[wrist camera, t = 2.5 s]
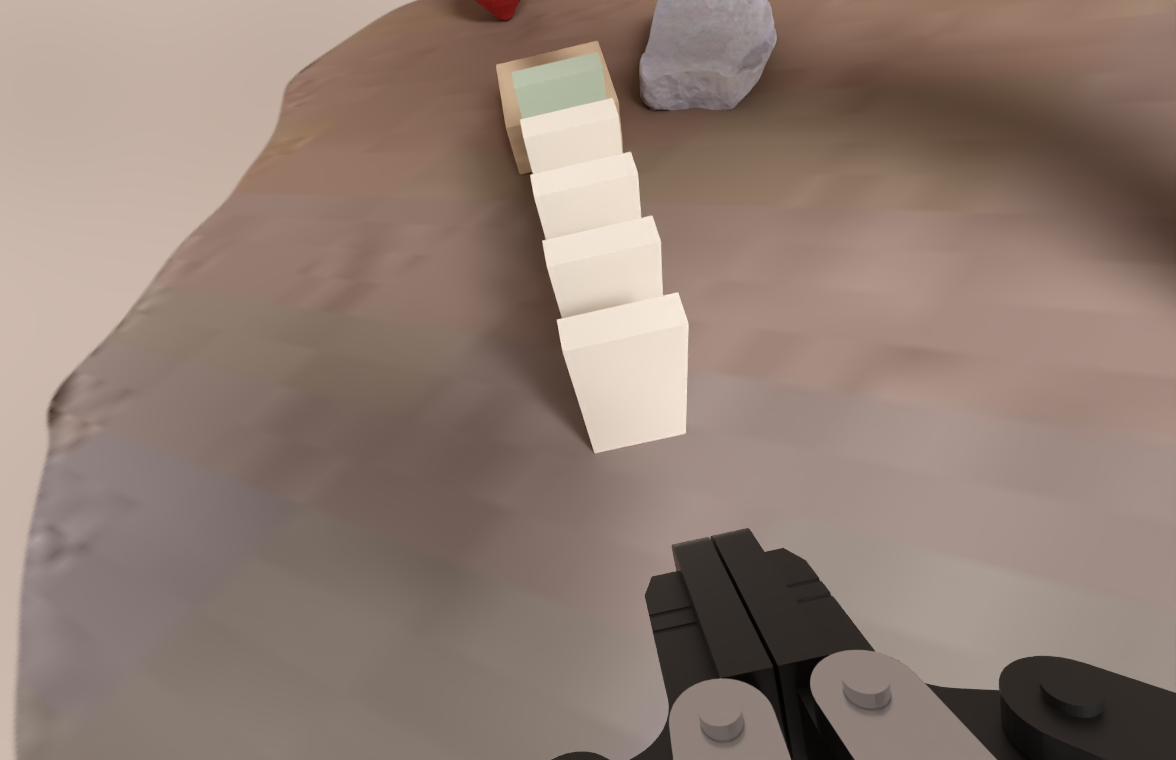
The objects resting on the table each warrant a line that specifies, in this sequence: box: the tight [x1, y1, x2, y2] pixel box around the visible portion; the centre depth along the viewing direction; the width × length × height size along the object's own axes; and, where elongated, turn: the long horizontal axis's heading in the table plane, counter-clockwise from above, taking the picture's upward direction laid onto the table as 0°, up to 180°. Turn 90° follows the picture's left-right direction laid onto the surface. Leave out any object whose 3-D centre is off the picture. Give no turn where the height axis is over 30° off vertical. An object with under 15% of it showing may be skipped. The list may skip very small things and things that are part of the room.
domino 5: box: [557, 293, 688, 453], centre depth 27 cm, size 2×5×10 cm, turn 100°
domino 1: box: [512, 52, 606, 119], centre depth 36 cm, size 2×5×10 cm, turn 100°
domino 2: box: [520, 98, 622, 174], centre depth 34 cm, size 2×5×10 cm, turn 100°
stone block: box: [639, 0, 777, 111], centre depth 46 cm, size 12×5×10 cm
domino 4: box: [542, 216, 663, 318], centre depth 29 cm, size 2×5×10 cm, turn 100°
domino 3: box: [530, 152, 641, 240], centre depth 32 cm, size 2×5×10 cm, turn 100°
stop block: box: [496, 41, 623, 175], centre depth 43 cm, size 8×8×4 cm
